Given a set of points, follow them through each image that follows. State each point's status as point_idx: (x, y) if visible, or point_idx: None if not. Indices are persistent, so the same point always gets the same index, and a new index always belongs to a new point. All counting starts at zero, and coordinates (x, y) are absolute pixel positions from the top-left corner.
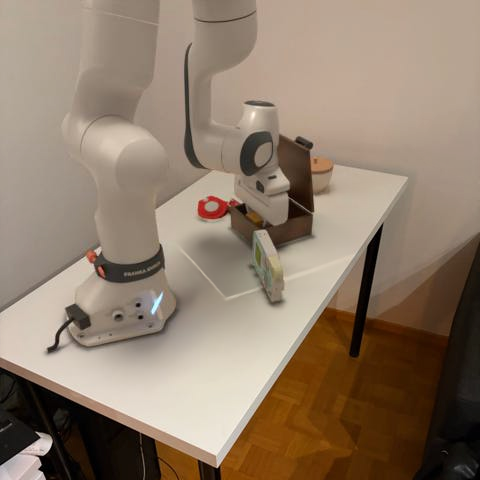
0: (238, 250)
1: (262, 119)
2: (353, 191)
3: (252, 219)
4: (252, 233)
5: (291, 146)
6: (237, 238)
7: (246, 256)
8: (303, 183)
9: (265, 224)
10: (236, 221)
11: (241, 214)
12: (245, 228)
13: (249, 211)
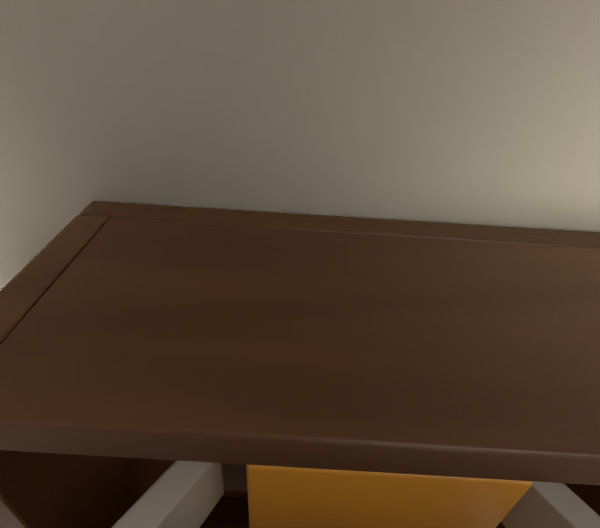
0: (230, 53)
1: None
2: None
3: (334, 473)
4: (164, 309)
5: None
6: (445, 184)
7: (72, 60)
8: None
9: (148, 492)
10: (597, 318)
11: (552, 468)
12: (356, 310)
13: (548, 513)
